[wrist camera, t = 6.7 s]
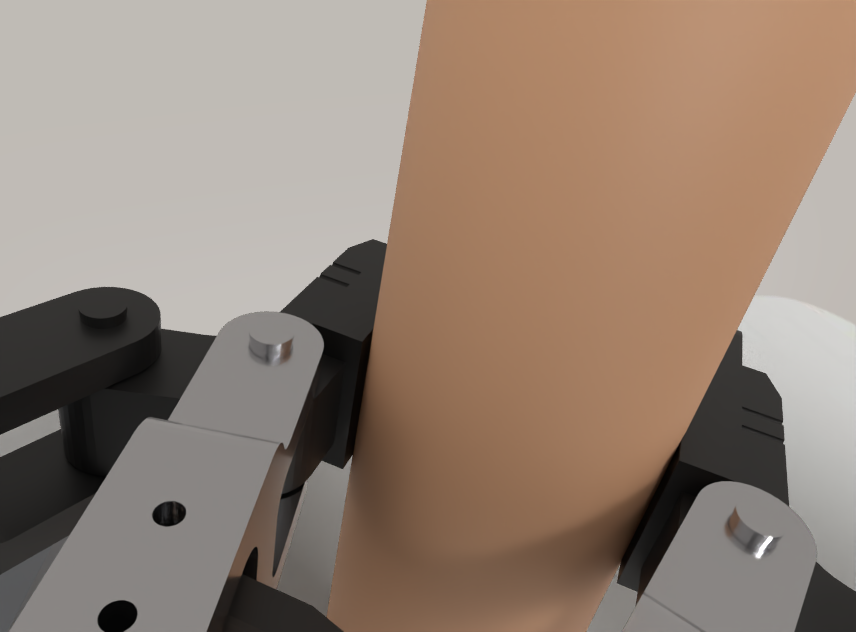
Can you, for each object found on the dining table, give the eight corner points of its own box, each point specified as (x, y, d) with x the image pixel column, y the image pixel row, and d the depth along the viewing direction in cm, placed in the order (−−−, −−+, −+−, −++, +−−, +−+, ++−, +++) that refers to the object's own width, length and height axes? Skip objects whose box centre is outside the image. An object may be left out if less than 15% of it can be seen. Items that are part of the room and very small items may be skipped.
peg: (486, 693, 17) (832, -164, 8) (498, 901, 14) (1121, -146, 5) (314, 675, 17) (461, -245, 8) (285, 885, 14) (482, -290, 4)
